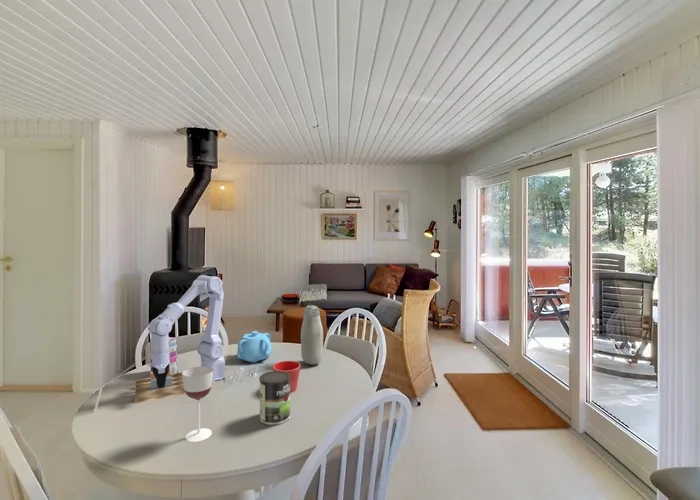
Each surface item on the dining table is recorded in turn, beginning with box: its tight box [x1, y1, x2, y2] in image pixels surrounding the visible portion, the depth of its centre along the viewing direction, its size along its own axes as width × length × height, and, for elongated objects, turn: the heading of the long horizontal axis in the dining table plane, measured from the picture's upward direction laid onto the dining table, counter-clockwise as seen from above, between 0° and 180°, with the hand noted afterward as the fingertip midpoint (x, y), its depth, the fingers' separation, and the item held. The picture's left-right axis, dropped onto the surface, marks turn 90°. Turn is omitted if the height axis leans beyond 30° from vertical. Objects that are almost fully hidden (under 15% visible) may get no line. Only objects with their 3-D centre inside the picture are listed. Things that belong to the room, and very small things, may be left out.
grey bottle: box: [300, 304, 324, 366], centre depth 173 cm, size 10×10×28 cm
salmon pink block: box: [149, 369, 170, 382], centre depth 146 cm, size 7×2×6 cm, turn 120°
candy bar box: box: [149, 336, 179, 374], centre depth 159 cm, size 11×5×16 cm, turn 68°
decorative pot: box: [236, 330, 273, 364], centre depth 180 cm, size 16×16×14 cm
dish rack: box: [133, 371, 186, 404], centre depth 142 cm, size 18×16×4 cm
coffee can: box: [258, 370, 291, 426], centre depth 123 cm, size 10×10×14 cm
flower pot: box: [272, 360, 301, 394], centre depth 145 cm, size 11×11×10 cm
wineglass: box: [182, 366, 213, 443], centre depth 112 cm, size 8×9×20 cm
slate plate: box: [151, 376, 172, 390], centre depth 138 cm, size 7×2×6 cm, turn 119°
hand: (161, 385), depth 138 cm, fingers closed on slate plate, 2 cm apart
